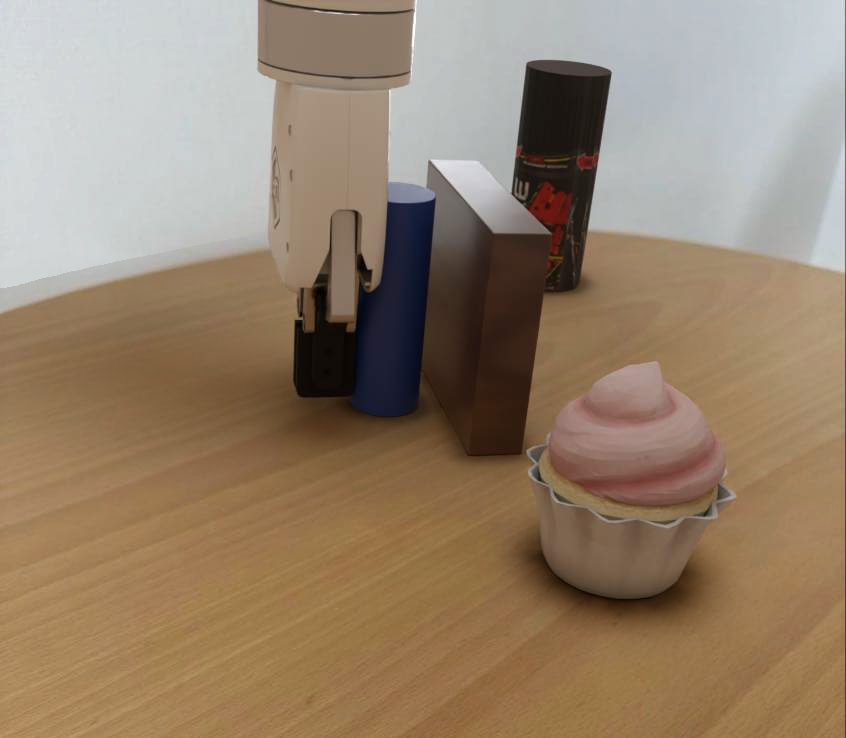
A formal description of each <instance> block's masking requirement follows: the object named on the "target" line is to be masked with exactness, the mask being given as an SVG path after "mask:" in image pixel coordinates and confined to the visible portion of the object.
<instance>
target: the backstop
mask: <svg viewBox="0 0 846 738" xmlns="http://www.w3.org/2000/svg"><path fill="white" fill-rule="evenodd" d="M426 173H427V174H426V186H425V188H427V189H429V190H431V191H433V192H434V193H435V194H436V204H435V216H434V227H433V239H432V251H431V262H430V274H429V286H428V297H427V309H426V321H425V332H424V344H423V356H422V367H421V371H423V374H424V376H425V377H426V379H427V381H428V383H429V384H430V386H431V388H432V390H433V392H434V394H435V396H436V397H437V399H438V401H439V403H440V404H441V407H442V408H443V410H444V413H445V414H446V415H447V417H448V419H449V421H450V423H451V425H452V426H453V428H454V431H455V432H456V434H457V436H458V438H459V440H460V441H461V443H462V445H463V447H464V449H465V450H466V453H467V454H468V456H478V455H479V456H486V455H487V456H488V455H513V454H514V455H515V454H518V455H519V454H522V453H523V449H524V448H523V447H524V439H525V433H526V427H527V417H528V412H529V411H528V410H529V404H530V397H531V389H532V381H533V376H534V370H535V369H534V368H535V361H536V354H537V346H538V340H539V334H540V333H539V332H540V327H541V317H542V310H543V303H544V298H545V297H544V296H545V291H544V290H545V283H546V276H547V268H548V261H549V254H550V247H551V240H552V234H551V233H550V232H549V231H548V230H547V229H546V228H545V227H544V226H543V225H542V224H541V223H540V222H539V221H538V220H537V219H536V218H535V217H534V216H533V215H532V214H531V213H530V212H529V211H528V210H527V209H526V208H525V207H524V206H523V205H522V204H521V203H520V202H519V201H518V200H517V199H516V198H515V197H514V196H513V195H512V194H511V192H510V191H509V190H508V189H507V188H506V187H505V186H504V185H503V184H502V183H501V182H500V181H499V180H498V179H497V178H496V177H495V176H494V175H493V174H492V173H491V172H489V170H488V169H487V168H485V166H484V165H483V164H482V163H480V161H478V160H466V159H465V160H463V159H428V161H427V172H426Z"/></svg>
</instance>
